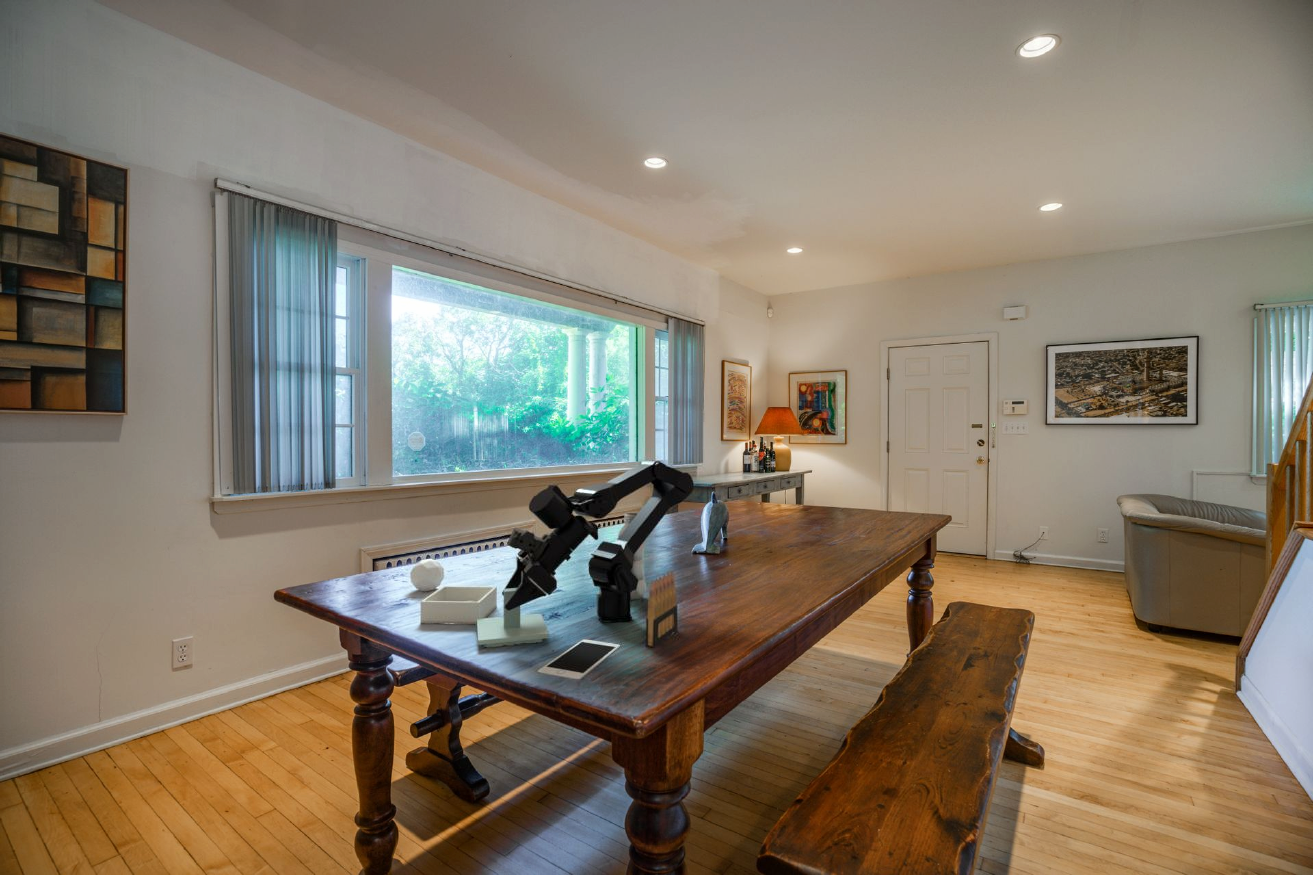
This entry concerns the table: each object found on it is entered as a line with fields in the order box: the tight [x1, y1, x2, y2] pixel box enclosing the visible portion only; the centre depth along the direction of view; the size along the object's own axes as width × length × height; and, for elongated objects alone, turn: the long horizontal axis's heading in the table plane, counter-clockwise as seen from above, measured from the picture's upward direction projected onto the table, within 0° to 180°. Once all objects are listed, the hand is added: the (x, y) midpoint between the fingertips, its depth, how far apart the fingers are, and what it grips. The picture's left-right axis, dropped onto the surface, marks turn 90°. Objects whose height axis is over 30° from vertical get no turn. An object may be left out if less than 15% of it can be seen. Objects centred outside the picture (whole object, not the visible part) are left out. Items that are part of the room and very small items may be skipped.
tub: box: [420, 585, 498, 626], centre depth 125 cm, size 12×12×4 cm
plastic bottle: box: [617, 512, 647, 601], centre depth 138 cm, size 6×7×20 cm
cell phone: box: [537, 639, 621, 681], centre depth 102 cm, size 8×16×1 cm, turn 159°
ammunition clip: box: [645, 570, 678, 648], centre depth 112 cm, size 11×2×12 cm, turn 155°
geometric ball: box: [409, 558, 445, 592], centre depth 144 cm, size 8×8×8 cm
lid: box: [476, 588, 550, 648], centre depth 113 cm, size 13×13×9 cm
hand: (504, 601), depth 112 cm, fingers open, 9 cm apart
